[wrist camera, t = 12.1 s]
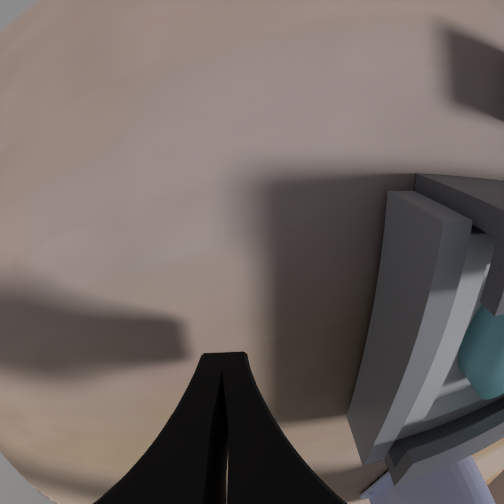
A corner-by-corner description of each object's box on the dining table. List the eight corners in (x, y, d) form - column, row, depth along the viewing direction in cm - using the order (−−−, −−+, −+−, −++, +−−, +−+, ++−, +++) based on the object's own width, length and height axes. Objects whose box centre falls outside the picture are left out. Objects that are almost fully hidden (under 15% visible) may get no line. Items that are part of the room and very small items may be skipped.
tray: (509, 364, 13) (532, 393, 11) (346, 416, 13) (362, 465, 10) (564, 201, 9) (603, 221, 6) (387, 190, 9) (443, 221, 6)
